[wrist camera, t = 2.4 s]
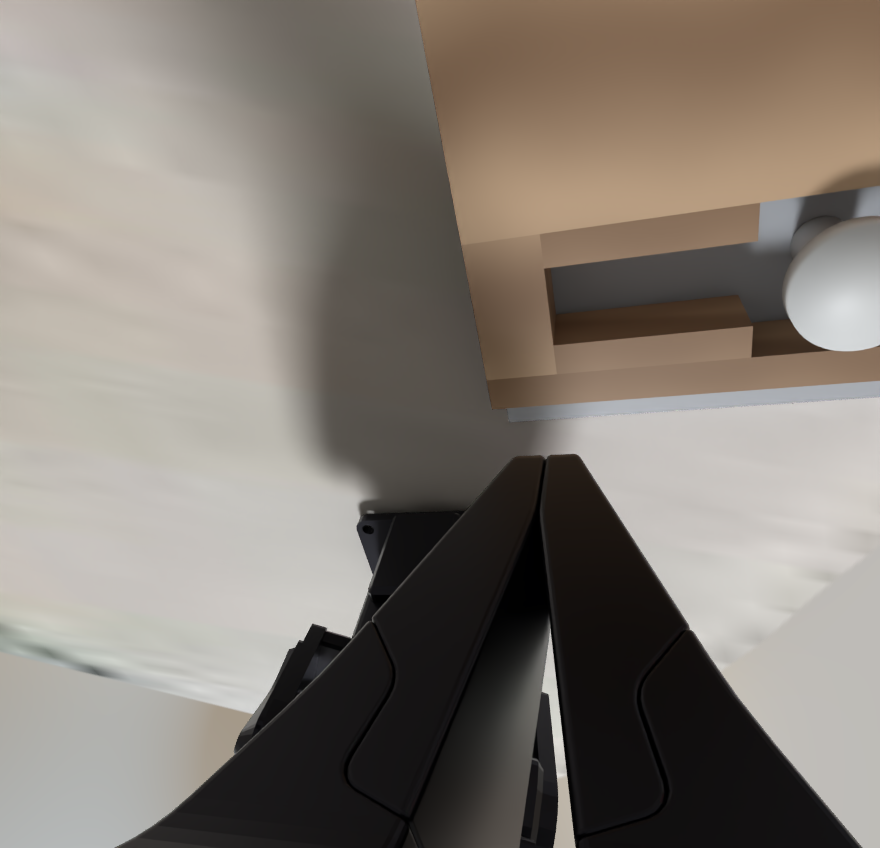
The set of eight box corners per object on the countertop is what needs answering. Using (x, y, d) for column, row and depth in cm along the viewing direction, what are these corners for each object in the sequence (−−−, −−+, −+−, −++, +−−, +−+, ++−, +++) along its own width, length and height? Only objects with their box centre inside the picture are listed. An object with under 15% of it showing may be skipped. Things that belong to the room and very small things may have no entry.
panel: (934, 337, 18) (968, 374, 16) (499, 375, 21) (492, 409, 19) (1154, -660, 9) (1271, -791, 8) (372, -347, 13) (341, -395, 11)
